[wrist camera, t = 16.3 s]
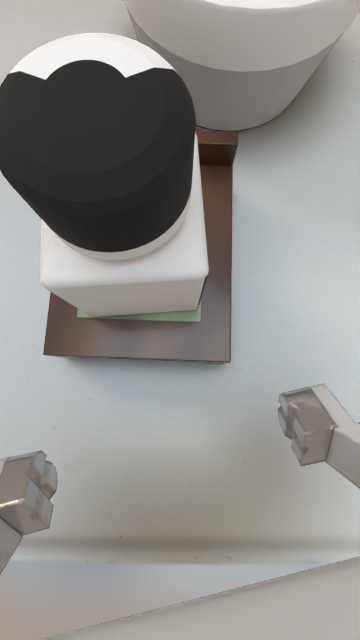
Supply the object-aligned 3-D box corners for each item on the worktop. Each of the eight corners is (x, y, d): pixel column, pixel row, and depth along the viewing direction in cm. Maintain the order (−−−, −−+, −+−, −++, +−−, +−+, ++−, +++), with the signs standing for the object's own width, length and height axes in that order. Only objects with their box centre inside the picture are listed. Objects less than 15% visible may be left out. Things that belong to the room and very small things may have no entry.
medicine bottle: (199, 311, 19) (229, 212, 7) (89, 318, 19) (-60, 230, 7) (191, 210, 20) (206, -14, 9) (87, 216, 20) (-41, 0, 9)
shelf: (66, 357, 23) (26, 352, 17) (85, 182, 25) (56, 124, 20) (221, 364, 23) (236, 361, 17) (224, 187, 25) (238, 131, 19)
